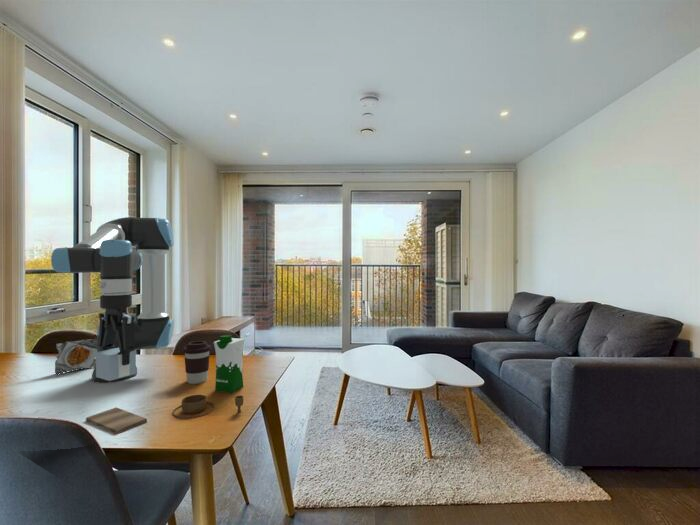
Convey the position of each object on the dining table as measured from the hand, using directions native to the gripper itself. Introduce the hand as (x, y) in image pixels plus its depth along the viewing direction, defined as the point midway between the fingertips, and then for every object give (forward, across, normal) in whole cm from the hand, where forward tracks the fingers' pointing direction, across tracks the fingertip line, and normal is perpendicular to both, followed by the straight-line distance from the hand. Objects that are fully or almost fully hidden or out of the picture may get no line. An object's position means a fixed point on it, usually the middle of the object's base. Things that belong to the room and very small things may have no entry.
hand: (116, 373), depth 99 cm
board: (+14, 0, 0) cm, 14 cm away
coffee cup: (+15, -11, +35) cm, 40 cm away
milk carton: (+15, +7, +35) cm, 39 cm away
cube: (0, 0, 0) cm, 0 cm away
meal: (+15, -66, +19) cm, 70 cm away
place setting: (+15, +16, +16) cm, 28 cm away
